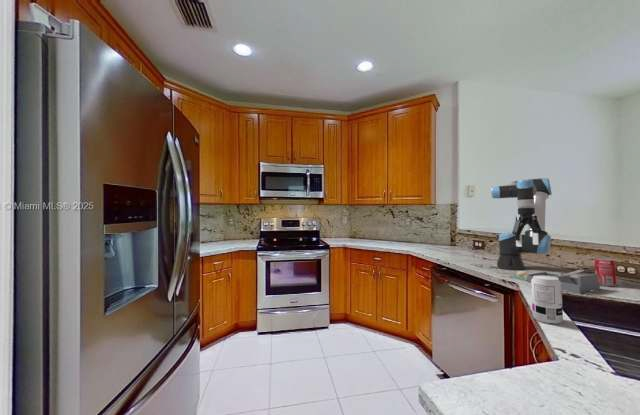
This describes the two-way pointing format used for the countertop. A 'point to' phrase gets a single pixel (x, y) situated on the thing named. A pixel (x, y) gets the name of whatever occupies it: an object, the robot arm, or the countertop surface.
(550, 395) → the countertop surface
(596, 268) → the red toy chair
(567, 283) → the charcoal tray
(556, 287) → the supplement can
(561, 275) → the lever
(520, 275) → the maple bar
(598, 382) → the countertop surface
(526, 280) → the green mat
